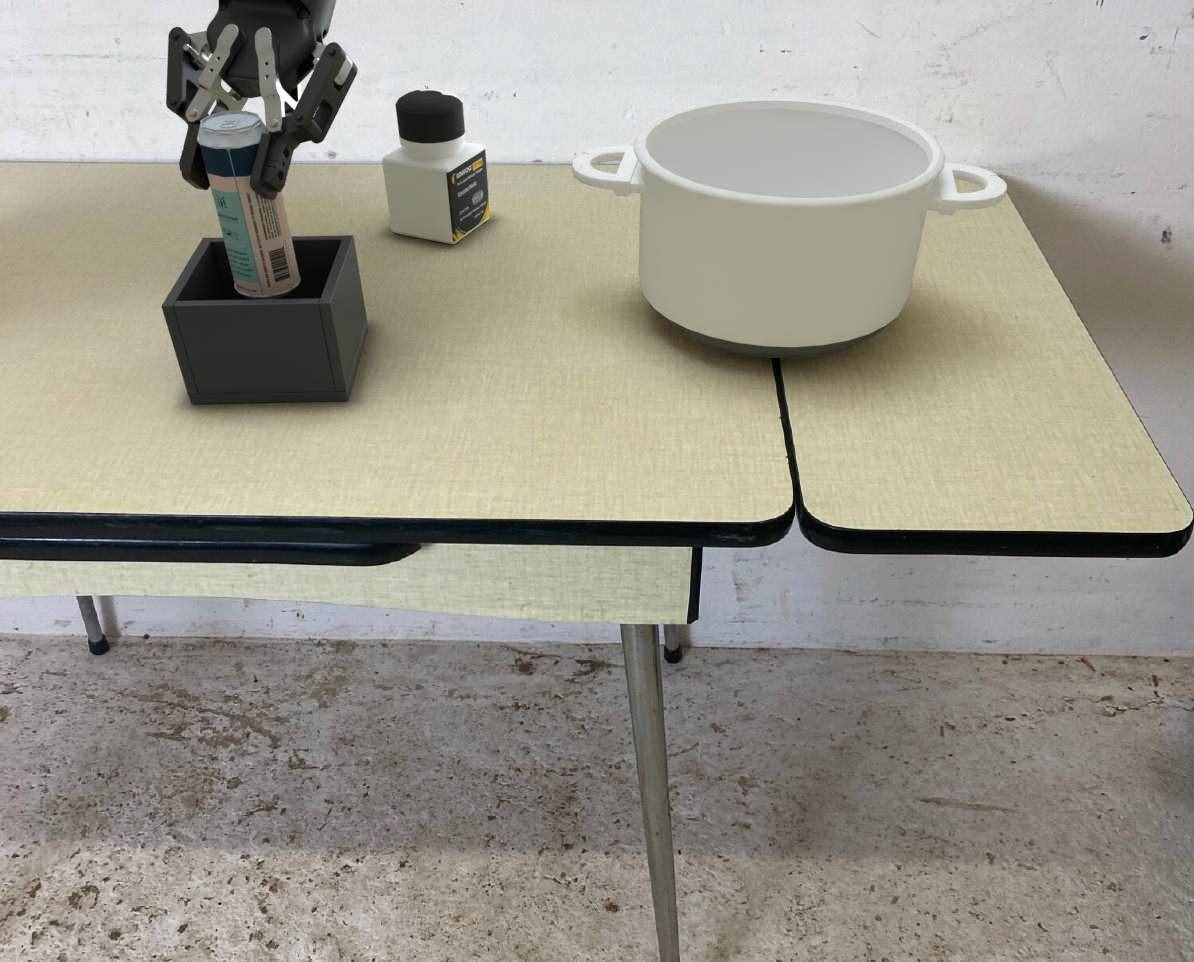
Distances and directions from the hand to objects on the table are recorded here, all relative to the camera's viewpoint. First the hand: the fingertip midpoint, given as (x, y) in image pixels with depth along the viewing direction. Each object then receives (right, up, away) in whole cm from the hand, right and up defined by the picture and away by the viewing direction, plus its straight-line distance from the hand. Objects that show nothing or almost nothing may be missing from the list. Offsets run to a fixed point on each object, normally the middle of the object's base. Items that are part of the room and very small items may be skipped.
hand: (227, 188), depth 71 cm
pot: (+40, -4, +17) cm, 43 cm away
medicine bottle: (+10, +8, +31) cm, 33 cm away
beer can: (+1, -5, +7) cm, 9 cm away
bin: (+1, -10, +11) cm, 14 cm away
